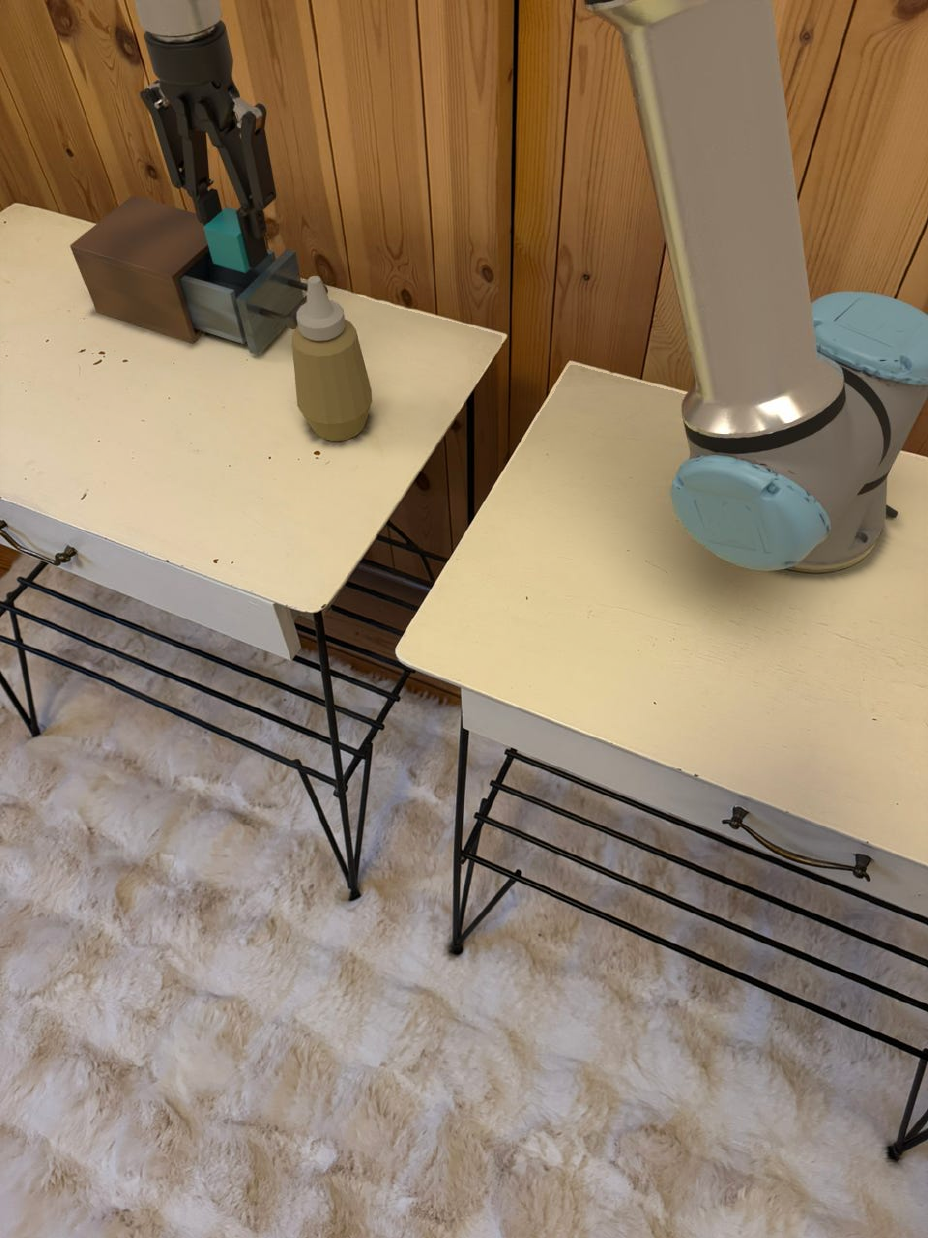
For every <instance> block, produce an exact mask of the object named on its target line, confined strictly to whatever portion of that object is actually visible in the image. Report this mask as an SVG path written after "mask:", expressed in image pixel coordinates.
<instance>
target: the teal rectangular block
mask: <svg viewBox="0 0 928 1238" xmlns="http://www.w3.org/2000/svg"><path fill="white" fill-rule="evenodd" d="M237 210H238V209H237V208H234V207H233V208H232V207H229V206H225V207H224V208H222V211H221V212H220V213H219V214H218V215H217V216H216V217H215V218H213V219H212V220H211V221H210V222H209V223H207V224H206V225H205V226H204V227H203V229H204V232H205V236H206V239H207V243H208V247H209V250H210V254H211V258H212V261H213V264H216V265H220V266H223V267H227V268H230V269H234V270H237V271H240V272H244V273H246V272H247V271H248V270H249V269H250V268H251V267H249V263H248V259H247V254H246V250H245V246H244V242H243V238H242V233H241V231H240V227H239V223H238V219H237V214H236V211H237Z"/></svg>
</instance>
